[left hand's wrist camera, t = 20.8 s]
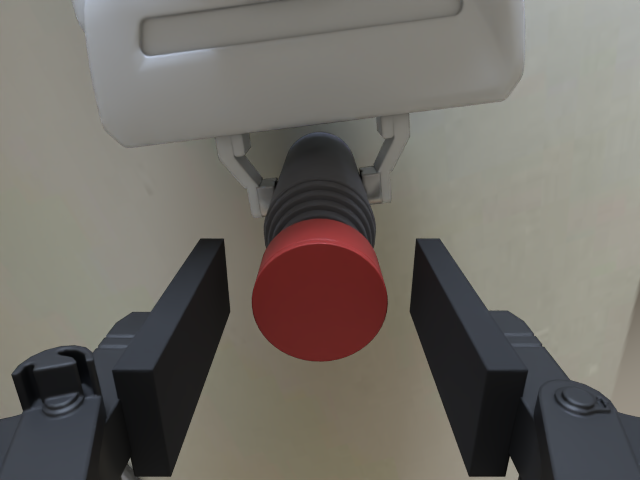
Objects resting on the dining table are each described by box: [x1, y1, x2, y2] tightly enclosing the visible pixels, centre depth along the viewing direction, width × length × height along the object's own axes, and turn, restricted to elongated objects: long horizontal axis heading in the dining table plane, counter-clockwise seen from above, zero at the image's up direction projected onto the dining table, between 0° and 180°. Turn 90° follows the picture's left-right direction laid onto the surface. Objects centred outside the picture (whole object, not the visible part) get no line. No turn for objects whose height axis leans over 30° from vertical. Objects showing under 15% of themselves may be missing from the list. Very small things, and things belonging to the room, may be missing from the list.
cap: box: [252, 219, 388, 361], centre depth 14 cm, size 4×4×2 cm
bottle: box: [264, 132, 376, 248], centre depth 22 cm, size 5×5×18 cm
